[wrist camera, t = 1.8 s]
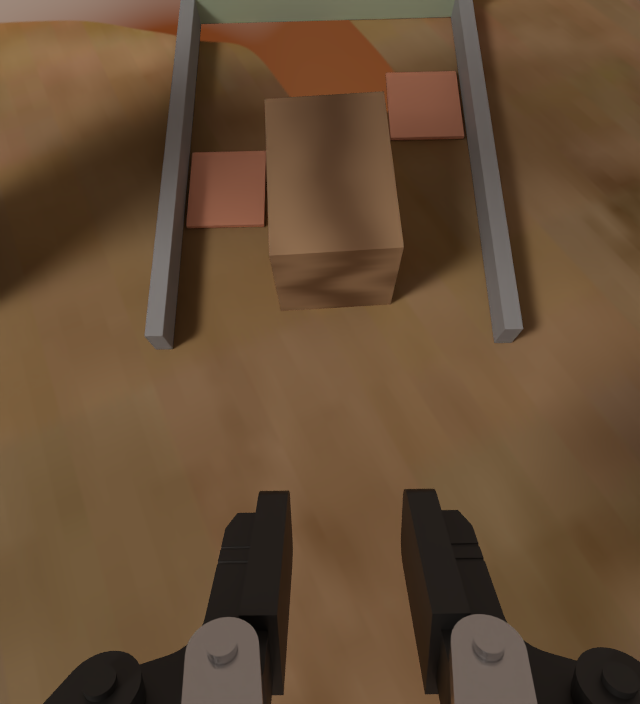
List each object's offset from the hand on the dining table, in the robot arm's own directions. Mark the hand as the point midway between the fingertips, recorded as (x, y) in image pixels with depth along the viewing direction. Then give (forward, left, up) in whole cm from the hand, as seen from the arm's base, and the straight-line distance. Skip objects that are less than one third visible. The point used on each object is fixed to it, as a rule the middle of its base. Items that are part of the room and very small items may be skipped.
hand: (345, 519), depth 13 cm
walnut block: (0, +22, -22) cm, 31 cm away
